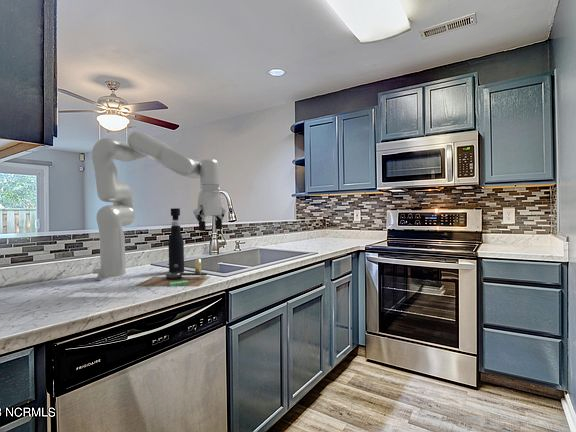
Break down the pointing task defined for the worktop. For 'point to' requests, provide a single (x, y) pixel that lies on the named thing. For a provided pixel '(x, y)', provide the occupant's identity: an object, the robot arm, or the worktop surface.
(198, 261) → the tuning dial
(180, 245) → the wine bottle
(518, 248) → the worktop surface
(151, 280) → the board
